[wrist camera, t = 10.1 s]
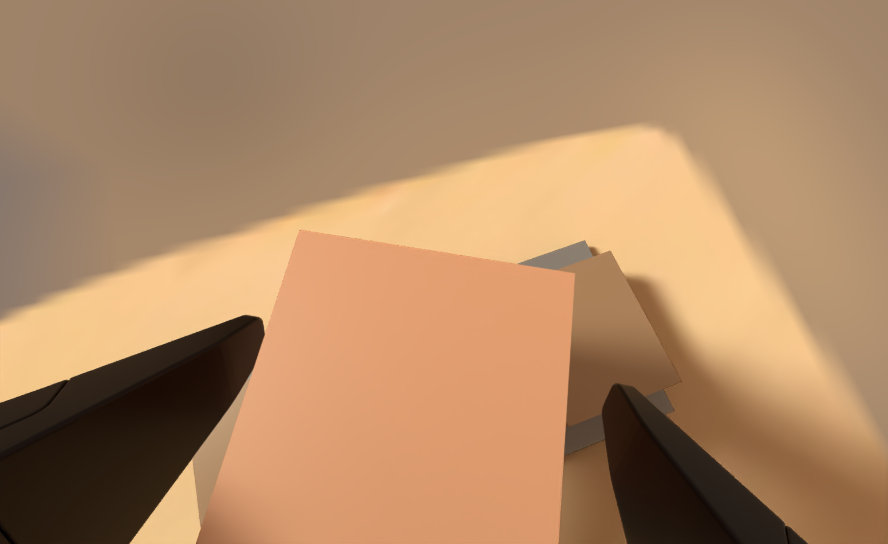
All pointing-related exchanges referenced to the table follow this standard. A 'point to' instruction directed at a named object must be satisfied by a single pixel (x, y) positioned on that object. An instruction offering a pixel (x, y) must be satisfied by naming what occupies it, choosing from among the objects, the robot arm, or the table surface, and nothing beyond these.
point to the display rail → (590, 370)
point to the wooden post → (401, 403)
